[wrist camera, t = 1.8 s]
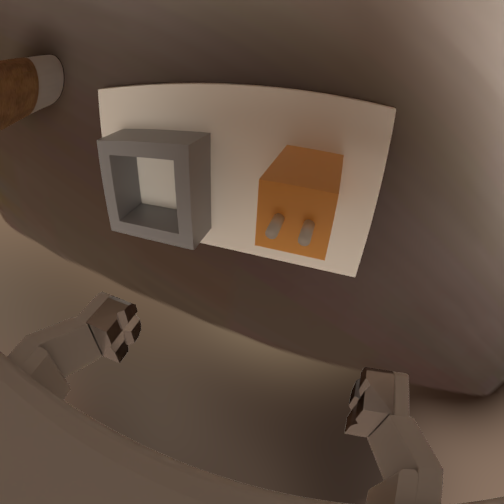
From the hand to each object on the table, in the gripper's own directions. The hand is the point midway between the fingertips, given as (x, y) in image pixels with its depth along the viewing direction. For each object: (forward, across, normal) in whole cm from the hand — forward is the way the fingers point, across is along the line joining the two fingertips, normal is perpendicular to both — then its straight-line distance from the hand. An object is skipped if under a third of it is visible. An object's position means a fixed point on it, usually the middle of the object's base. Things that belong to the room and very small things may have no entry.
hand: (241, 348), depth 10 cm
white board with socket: (+16, +7, 0) cm, 18 cm away
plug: (+15, 0, -1) cm, 15 cm away
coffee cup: (+16, +28, -9) cm, 33 cm away
